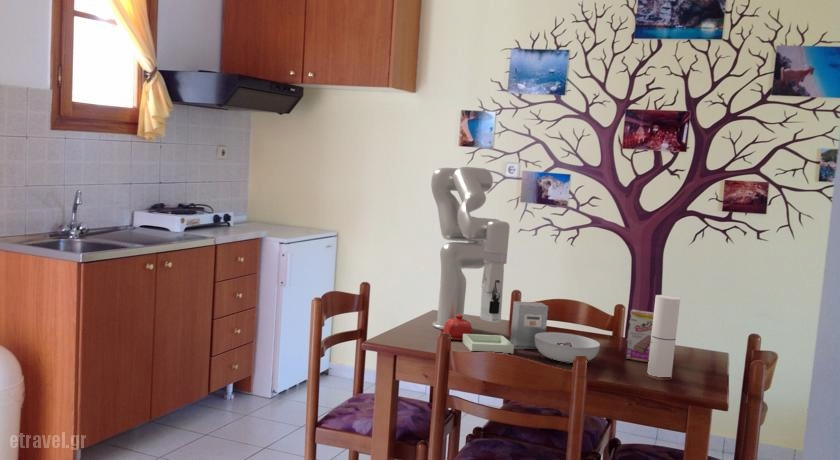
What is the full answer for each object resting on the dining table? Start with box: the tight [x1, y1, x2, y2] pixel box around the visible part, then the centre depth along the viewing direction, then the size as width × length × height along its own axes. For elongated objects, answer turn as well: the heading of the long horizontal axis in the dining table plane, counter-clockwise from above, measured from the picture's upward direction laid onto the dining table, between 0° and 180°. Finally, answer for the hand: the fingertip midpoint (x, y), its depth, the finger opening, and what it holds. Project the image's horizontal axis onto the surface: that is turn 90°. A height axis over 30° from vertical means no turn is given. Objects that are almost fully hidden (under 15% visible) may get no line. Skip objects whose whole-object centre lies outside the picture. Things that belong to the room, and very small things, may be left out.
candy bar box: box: [624, 309, 654, 360], centre depth 254 cm, size 11×5×16 cm, turn 71°
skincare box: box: [479, 283, 504, 324], centre depth 253 cm, size 6×4×12 cm
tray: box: [461, 333, 515, 355], centre depth 255 cm, size 14×14×3 cm
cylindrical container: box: [646, 294, 681, 378], centre depth 233 cm, size 7×7×25 cm
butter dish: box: [439, 314, 473, 341], centre depth 266 cm, size 12×12×8 cm
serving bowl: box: [534, 331, 601, 364], centre depth 246 cm, size 21×21×7 cm
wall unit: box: [507, 300, 549, 350], centre depth 260 cm, size 9×12×15 cm
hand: (490, 310), depth 253 cm, fingers closed on skincare box, 7 cm apart
